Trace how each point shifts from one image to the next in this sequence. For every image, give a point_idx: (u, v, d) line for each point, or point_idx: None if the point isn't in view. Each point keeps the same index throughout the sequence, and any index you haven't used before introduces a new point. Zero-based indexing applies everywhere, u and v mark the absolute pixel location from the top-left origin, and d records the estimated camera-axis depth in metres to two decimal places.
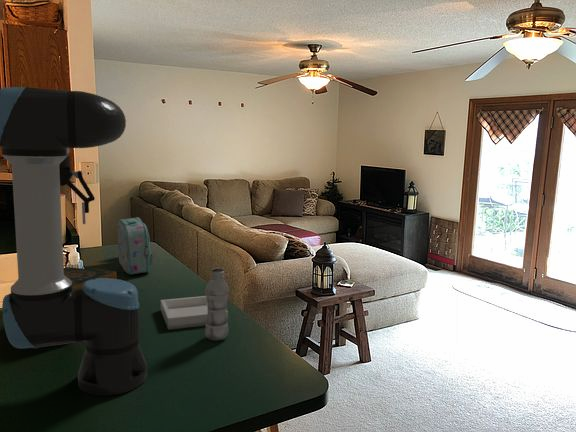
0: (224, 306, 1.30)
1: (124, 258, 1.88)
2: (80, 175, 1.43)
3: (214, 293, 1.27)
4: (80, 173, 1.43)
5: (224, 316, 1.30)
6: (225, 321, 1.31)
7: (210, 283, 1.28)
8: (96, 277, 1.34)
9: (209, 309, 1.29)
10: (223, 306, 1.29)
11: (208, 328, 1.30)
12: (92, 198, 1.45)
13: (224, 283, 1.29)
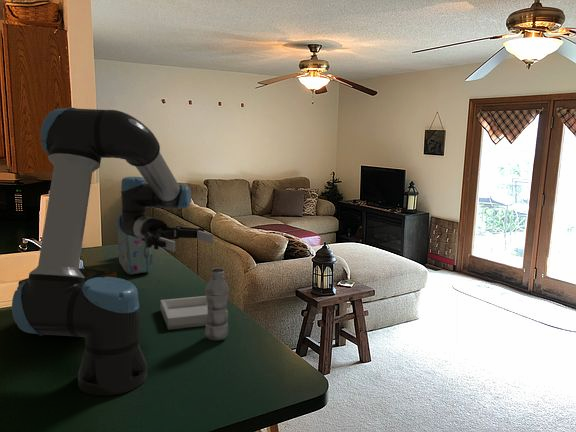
0: (224, 306, 1.30)
1: (124, 258, 1.88)
2: (180, 226, 1.49)
3: (214, 293, 1.27)
4: (178, 226, 1.49)
5: (224, 316, 1.30)
6: (225, 321, 1.31)
7: (210, 283, 1.28)
8: None
9: (209, 309, 1.29)
10: (223, 306, 1.29)
11: (208, 328, 1.30)
12: (202, 229, 1.46)
13: (224, 283, 1.29)
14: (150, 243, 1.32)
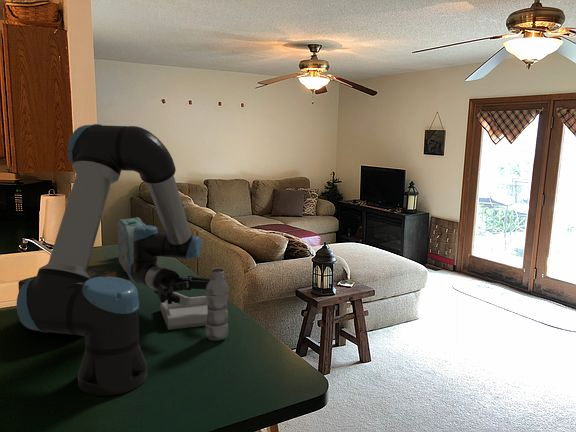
0: (224, 306, 1.30)
1: (124, 258, 1.88)
2: (191, 276, 1.49)
3: (214, 293, 1.27)
4: (190, 276, 1.49)
5: (224, 316, 1.30)
6: (225, 321, 1.31)
7: (210, 283, 1.28)
8: None
9: (209, 309, 1.29)
10: (223, 306, 1.29)
11: (208, 328, 1.30)
12: None
13: (224, 283, 1.29)
14: (164, 298, 1.32)
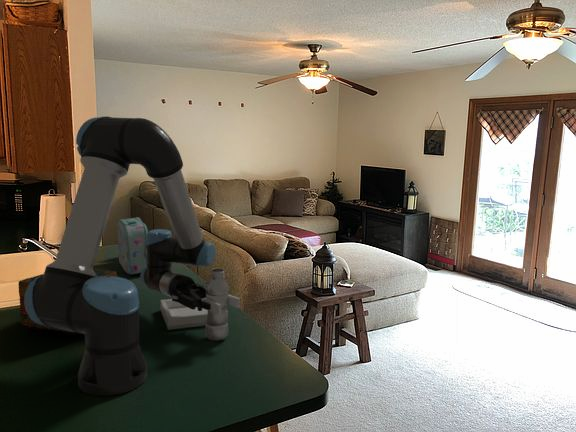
0: (224, 306, 1.30)
1: (124, 258, 1.88)
2: None
3: (214, 293, 1.27)
4: None
5: (224, 316, 1.30)
6: (225, 321, 1.31)
7: (210, 283, 1.28)
8: None
9: None
10: (223, 306, 1.29)
11: (208, 328, 1.30)
12: None
13: (224, 283, 1.29)
14: (195, 305, 1.28)
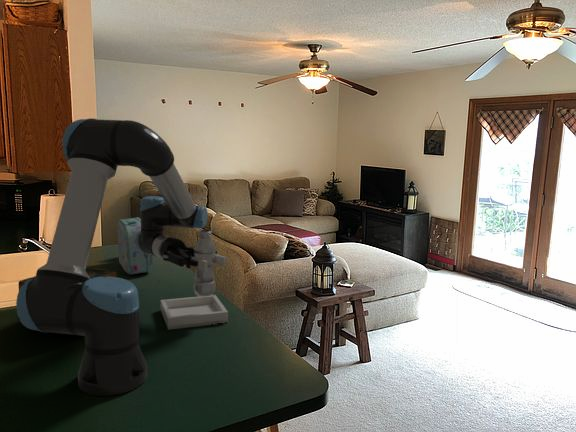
0: (211, 264, 1.39)
1: (124, 258, 1.88)
2: None
3: (201, 251, 1.36)
4: None
5: (211, 273, 1.39)
6: (212, 278, 1.40)
7: (198, 242, 1.37)
8: None
9: None
10: (210, 264, 1.38)
11: (196, 284, 1.39)
12: None
13: (211, 242, 1.38)
14: (183, 262, 1.37)
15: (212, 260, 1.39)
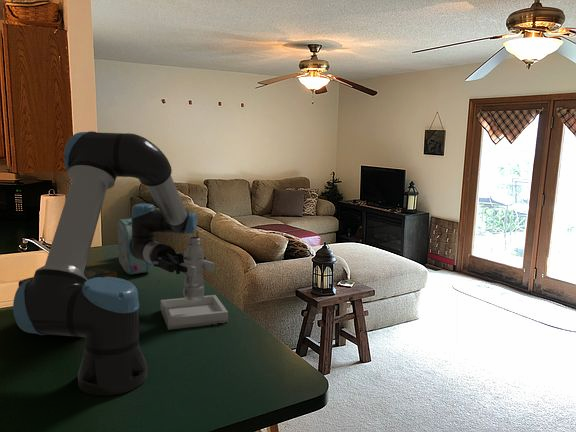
0: (200, 270, 1.44)
1: (124, 258, 1.88)
2: None
3: (190, 258, 1.42)
4: None
5: (200, 279, 1.45)
6: (201, 283, 1.45)
7: (187, 249, 1.43)
8: None
9: None
10: (199, 270, 1.44)
11: (185, 289, 1.44)
12: None
13: (200, 249, 1.43)
14: (173, 268, 1.42)
15: (201, 266, 1.44)
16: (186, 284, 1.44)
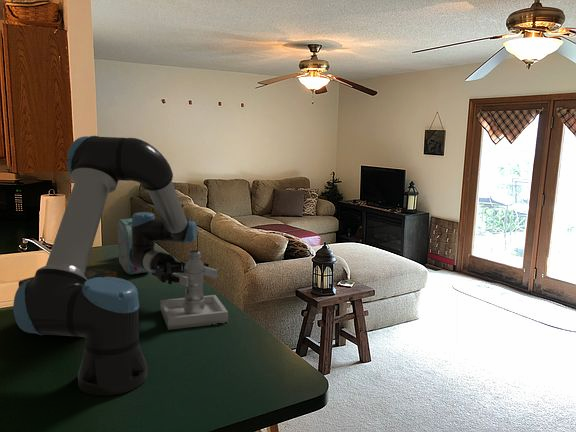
0: (200, 283, 1.45)
1: (124, 258, 1.88)
2: (187, 260, 1.57)
3: (191, 271, 1.42)
4: (186, 260, 1.58)
5: (200, 292, 1.45)
6: (201, 297, 1.46)
7: (188, 262, 1.44)
8: None
9: (187, 286, 1.44)
10: (199, 283, 1.45)
11: (186, 303, 1.45)
12: None
13: (200, 263, 1.44)
14: (165, 278, 1.41)
15: (201, 279, 1.45)
16: (186, 297, 1.45)
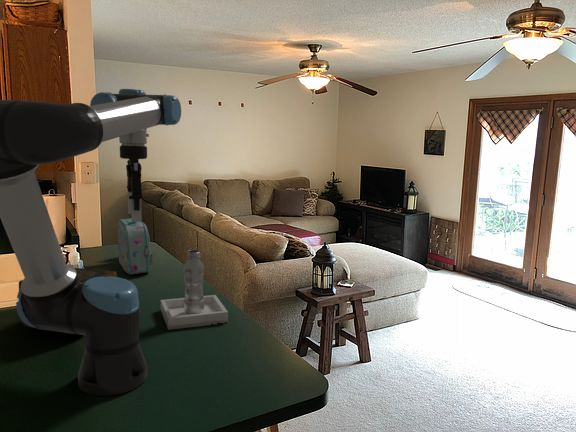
0: (200, 283, 1.45)
1: (124, 258, 1.88)
2: (131, 168, 1.30)
3: (190, 271, 1.42)
4: (131, 165, 1.30)
5: (200, 292, 1.45)
6: (201, 297, 1.46)
7: (187, 262, 1.44)
8: None
9: (186, 286, 1.44)
10: (199, 283, 1.45)
11: (185, 303, 1.45)
12: (132, 195, 1.28)
13: (200, 262, 1.44)
14: None
15: (201, 279, 1.45)
16: (186, 298, 1.45)
